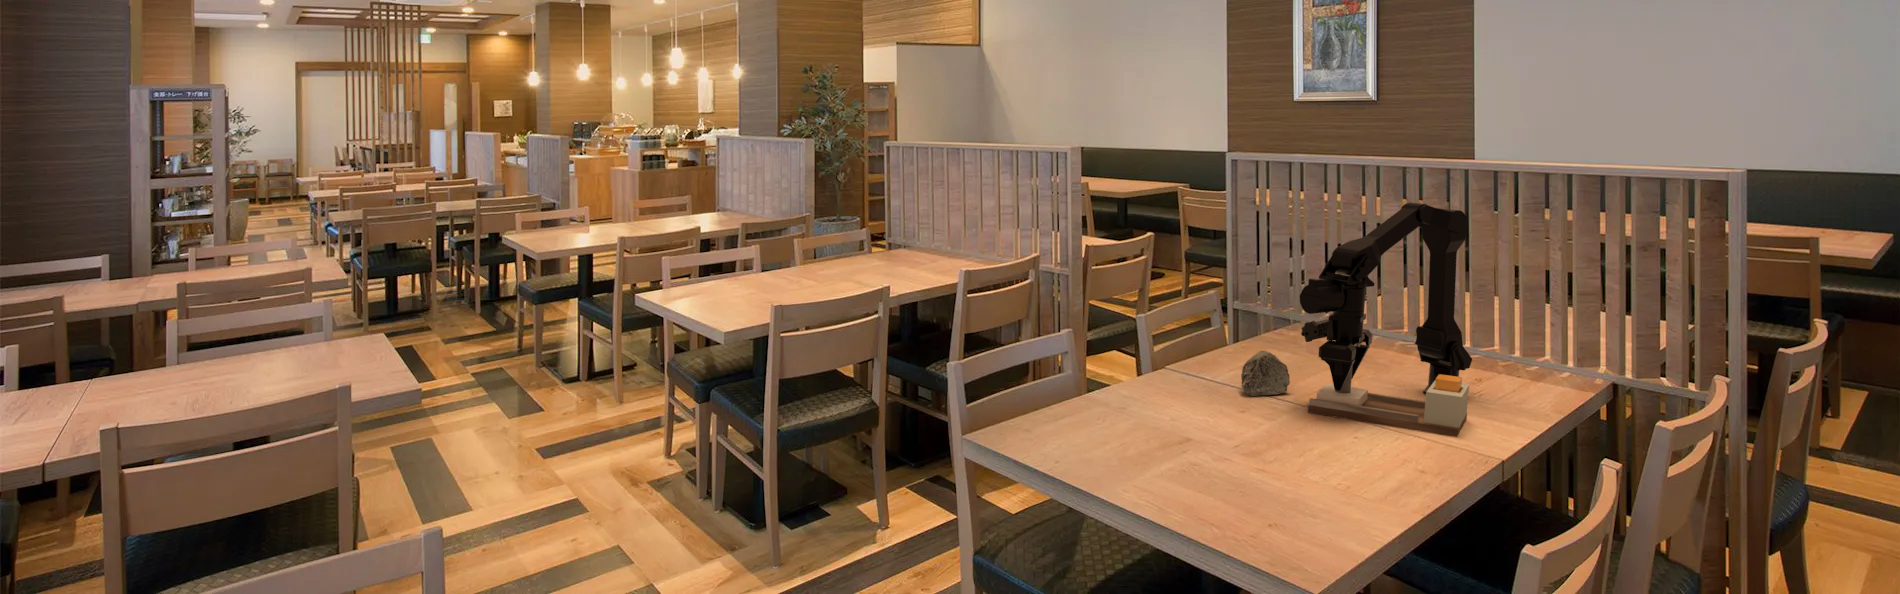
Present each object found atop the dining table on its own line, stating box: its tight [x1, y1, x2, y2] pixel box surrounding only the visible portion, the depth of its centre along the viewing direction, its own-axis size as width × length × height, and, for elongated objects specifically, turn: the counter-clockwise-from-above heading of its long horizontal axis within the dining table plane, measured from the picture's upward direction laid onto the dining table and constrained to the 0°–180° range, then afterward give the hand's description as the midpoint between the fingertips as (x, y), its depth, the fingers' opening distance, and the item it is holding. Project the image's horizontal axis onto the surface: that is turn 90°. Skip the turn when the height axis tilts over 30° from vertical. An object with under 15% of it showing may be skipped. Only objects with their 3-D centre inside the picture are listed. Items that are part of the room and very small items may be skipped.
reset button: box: [1435, 374, 1463, 393], centre depth 186 cm, size 4×4×5 cm
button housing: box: [1424, 380, 1470, 428], centre depth 186 cm, size 10×6×6 cm, turn 145°
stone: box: [1240, 350, 1291, 397], centre depth 210 cm, size 10×10×10 cm
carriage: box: [1316, 366, 1369, 406], centre depth 197 cm, size 8×8×8 cm
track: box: [1307, 392, 1468, 438], centre depth 193 cm, size 12×27×3 cm, turn 55°
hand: (1343, 384), depth 197 cm, fingers open, 9 cm apart
